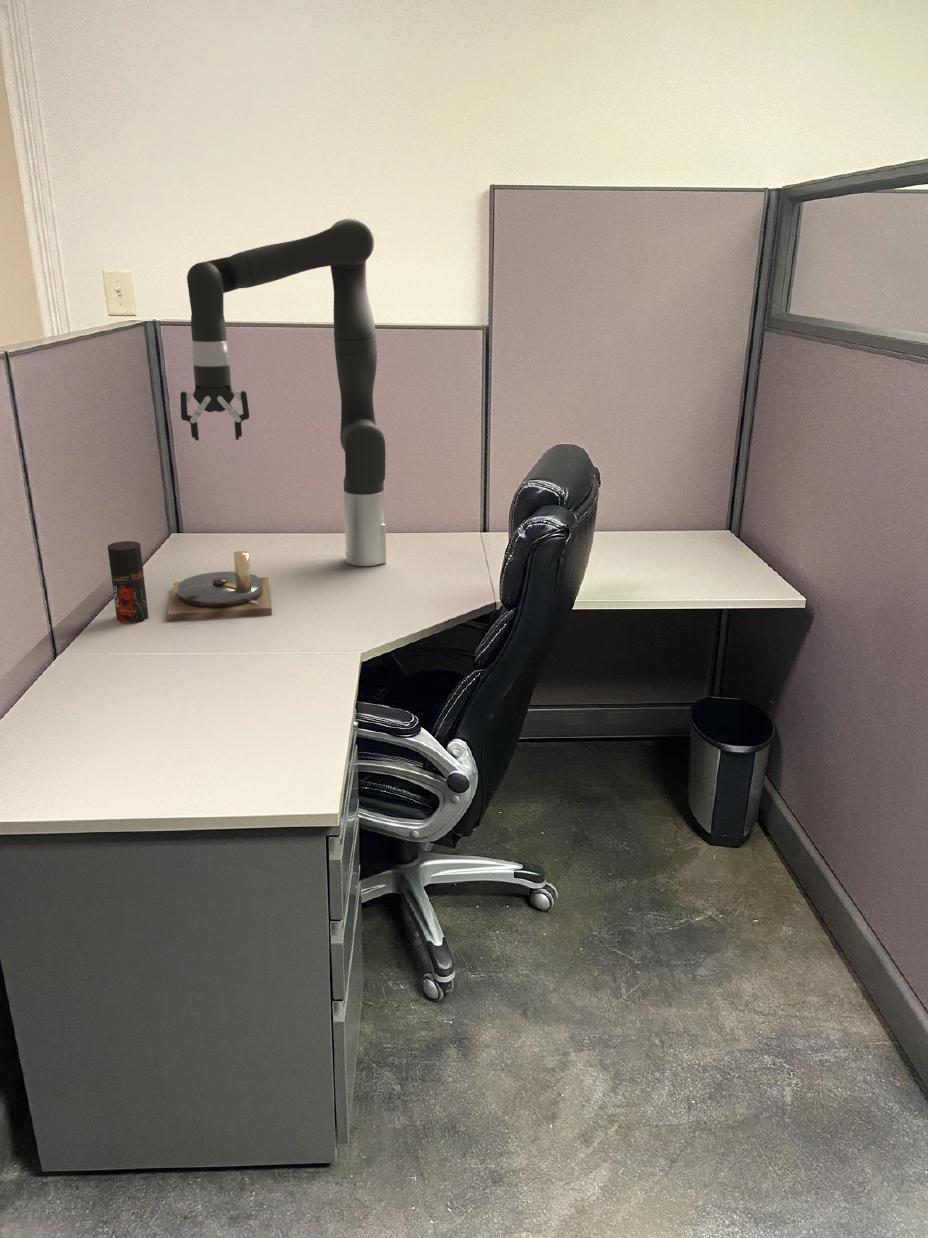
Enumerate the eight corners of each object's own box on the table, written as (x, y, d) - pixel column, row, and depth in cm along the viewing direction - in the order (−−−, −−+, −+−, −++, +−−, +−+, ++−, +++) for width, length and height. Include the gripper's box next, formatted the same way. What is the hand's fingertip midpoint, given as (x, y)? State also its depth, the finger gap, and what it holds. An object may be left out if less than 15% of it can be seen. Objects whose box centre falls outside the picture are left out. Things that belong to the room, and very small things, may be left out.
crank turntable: (263, 578, 200) (260, 534, 197) (262, 604, 184) (258, 557, 181) (182, 582, 197) (178, 537, 194) (174, 609, 181) (169, 560, 178)
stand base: (269, 583, 203) (268, 575, 202) (272, 614, 184) (271, 606, 184) (175, 588, 198) (174, 580, 198) (168, 621, 180) (167, 612, 180)
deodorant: (155, 615, 183) (146, 543, 177) (133, 625, 178) (124, 551, 172) (132, 611, 185) (123, 539, 180) (110, 620, 180) (100, 547, 175)
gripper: (175, 364, 189) (182, 443, 195) (245, 364, 192) (251, 441, 198) (177, 361, 196) (184, 437, 202) (245, 361, 199) (250, 436, 205)
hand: (217, 439), depth 200 cm, fingers open, 8 cm apart
